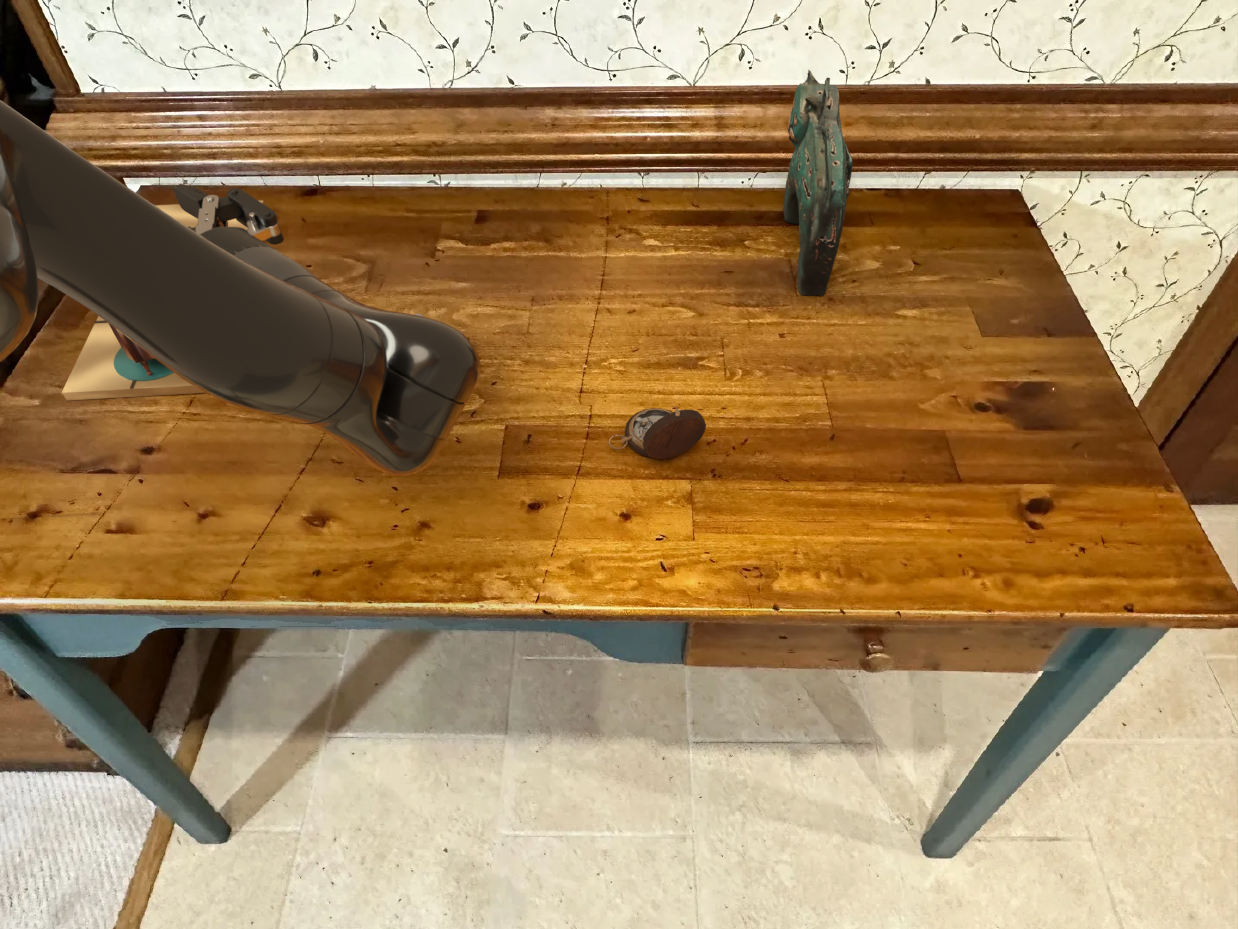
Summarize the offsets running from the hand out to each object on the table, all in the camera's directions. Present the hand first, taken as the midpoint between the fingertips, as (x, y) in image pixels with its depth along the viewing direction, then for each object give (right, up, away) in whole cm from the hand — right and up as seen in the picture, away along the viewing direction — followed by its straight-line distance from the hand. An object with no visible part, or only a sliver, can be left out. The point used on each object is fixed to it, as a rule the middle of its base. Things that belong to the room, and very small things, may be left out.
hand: (133, 218), depth 71 cm
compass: (+42, -18, +15) cm, 49 cm away
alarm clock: (-9, -8, +22) cm, 25 cm away
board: (-12, 0, +30) cm, 32 cm away
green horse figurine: (+62, +6, +36) cm, 72 cm away
